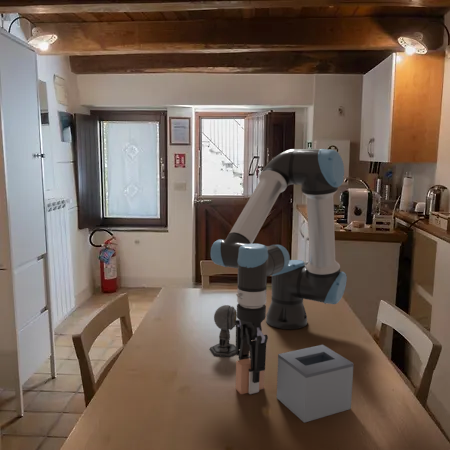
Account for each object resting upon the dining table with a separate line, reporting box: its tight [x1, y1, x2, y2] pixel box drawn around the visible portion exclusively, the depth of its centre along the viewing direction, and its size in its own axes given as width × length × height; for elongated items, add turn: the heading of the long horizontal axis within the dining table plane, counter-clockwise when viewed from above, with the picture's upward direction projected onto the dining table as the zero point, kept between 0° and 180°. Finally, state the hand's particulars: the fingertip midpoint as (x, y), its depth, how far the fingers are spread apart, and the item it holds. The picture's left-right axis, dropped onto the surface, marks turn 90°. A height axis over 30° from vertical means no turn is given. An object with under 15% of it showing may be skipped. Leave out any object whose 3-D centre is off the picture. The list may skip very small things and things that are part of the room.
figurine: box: [209, 304, 237, 358], centre depth 144 cm, size 9×10×15 cm
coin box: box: [276, 344, 354, 423], centre depth 115 cm, size 14×12×12 cm
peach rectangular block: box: [235, 358, 266, 395], centre depth 122 cm, size 7×3×8 cm, turn 116°
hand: (248, 387), depth 122 cm, fingers open, 4 cm apart
